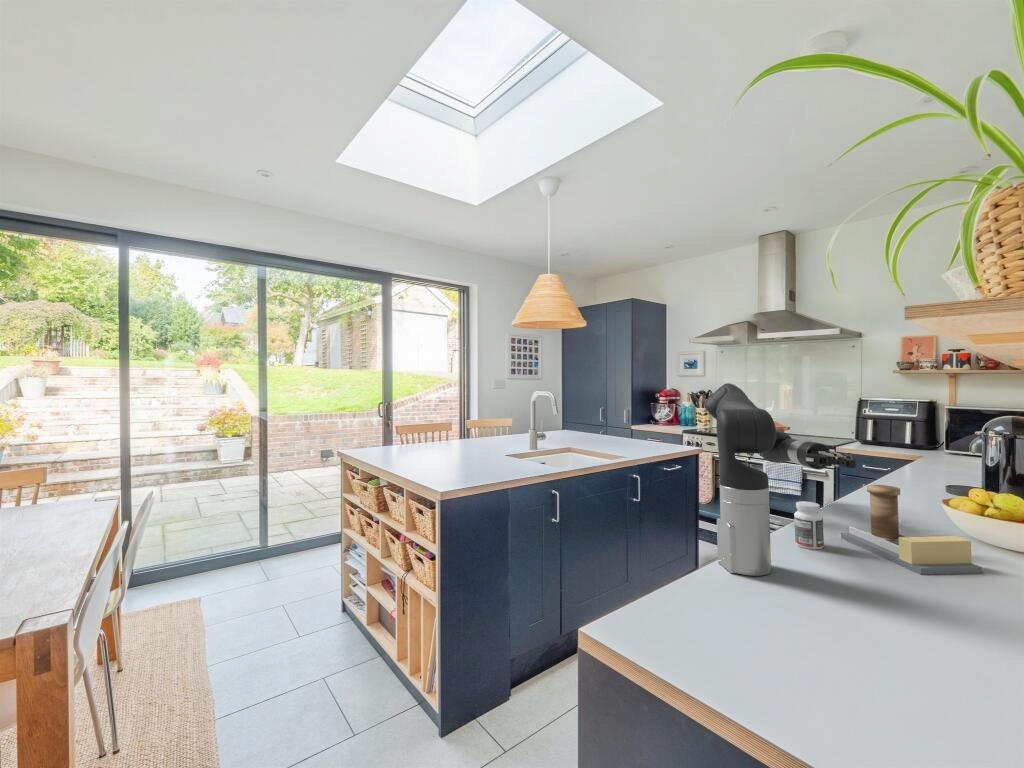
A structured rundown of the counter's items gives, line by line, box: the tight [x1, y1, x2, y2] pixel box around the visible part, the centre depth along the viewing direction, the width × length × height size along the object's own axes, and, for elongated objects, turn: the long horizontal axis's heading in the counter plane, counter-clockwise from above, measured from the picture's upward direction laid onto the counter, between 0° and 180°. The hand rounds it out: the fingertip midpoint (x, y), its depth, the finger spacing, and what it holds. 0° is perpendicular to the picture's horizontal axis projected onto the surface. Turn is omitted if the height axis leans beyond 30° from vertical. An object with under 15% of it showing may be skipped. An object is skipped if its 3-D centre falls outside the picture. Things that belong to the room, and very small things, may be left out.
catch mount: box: [840, 526, 983, 575], centre depth 100 cm, size 12×22×6 cm, turn 179°
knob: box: [866, 484, 901, 544], centre depth 105 cm, size 6×6×12 cm
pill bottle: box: [793, 500, 825, 550], centre depth 106 cm, size 6×6×10 cm
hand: (852, 464), depth 115 cm, fingers closed
